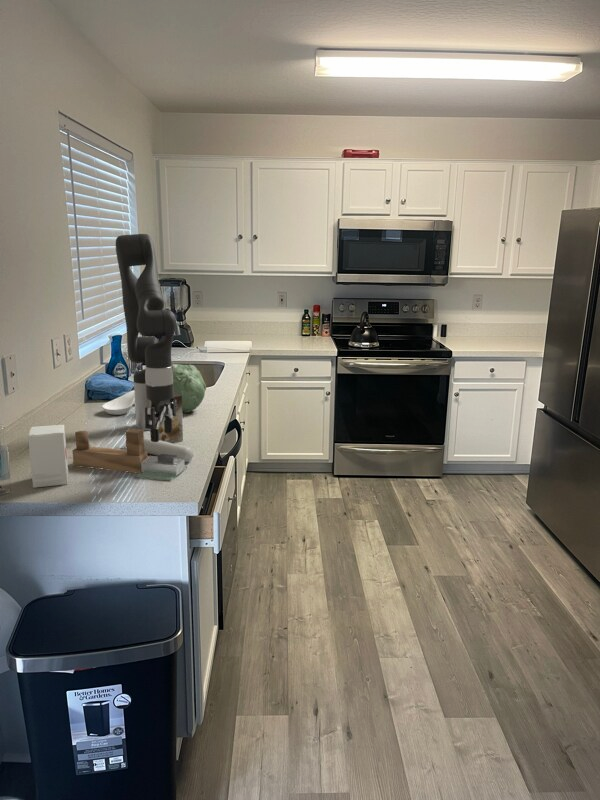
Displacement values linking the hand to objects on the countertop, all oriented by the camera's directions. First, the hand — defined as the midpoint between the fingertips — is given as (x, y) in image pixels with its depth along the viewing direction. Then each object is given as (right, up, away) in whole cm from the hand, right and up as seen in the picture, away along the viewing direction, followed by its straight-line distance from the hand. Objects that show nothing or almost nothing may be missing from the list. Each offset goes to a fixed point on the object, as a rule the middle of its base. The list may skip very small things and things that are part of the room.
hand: (162, 436), depth 166 cm
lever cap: (0, -10, +2) cm, 10 cm away
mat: (0, -11, +2) cm, 11 cm away
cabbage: (-8, +6, +68) cm, 69 cm away
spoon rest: (-31, +6, +71) cm, 77 cm away
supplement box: (-30, -12, -5) cm, 32 cm away
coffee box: (-6, -4, +31) cm, 31 cm away
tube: (-6, -5, +14) cm, 16 cm away
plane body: (-17, -9, +6) cm, 20 cm away
